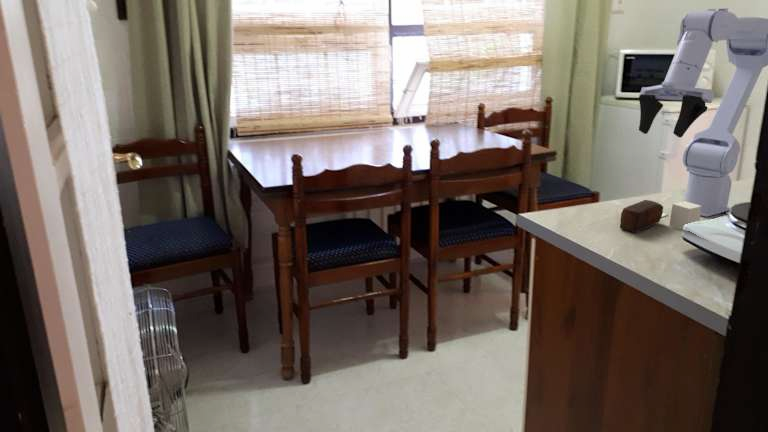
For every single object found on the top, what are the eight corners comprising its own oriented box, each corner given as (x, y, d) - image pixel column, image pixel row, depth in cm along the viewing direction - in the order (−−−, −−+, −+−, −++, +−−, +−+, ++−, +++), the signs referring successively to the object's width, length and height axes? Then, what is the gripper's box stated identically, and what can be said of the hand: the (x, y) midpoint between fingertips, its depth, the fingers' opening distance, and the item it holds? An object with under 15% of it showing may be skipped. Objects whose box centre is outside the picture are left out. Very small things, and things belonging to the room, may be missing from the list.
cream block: (680, 222, 130) (684, 201, 128) (697, 228, 126) (701, 205, 125) (669, 225, 128) (672, 204, 126) (686, 231, 124) (690, 209, 123)
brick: (636, 234, 123) (639, 212, 121) (619, 229, 126) (621, 208, 124) (661, 221, 129) (664, 201, 128) (644, 217, 132) (647, 197, 130)
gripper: (642, 60, 120) (617, 122, 120) (711, 59, 108) (683, 128, 108) (660, 75, 124) (636, 136, 124) (729, 76, 112) (702, 143, 112)
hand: (659, 133), depth 116 cm, fingers open, 7 cm apart
